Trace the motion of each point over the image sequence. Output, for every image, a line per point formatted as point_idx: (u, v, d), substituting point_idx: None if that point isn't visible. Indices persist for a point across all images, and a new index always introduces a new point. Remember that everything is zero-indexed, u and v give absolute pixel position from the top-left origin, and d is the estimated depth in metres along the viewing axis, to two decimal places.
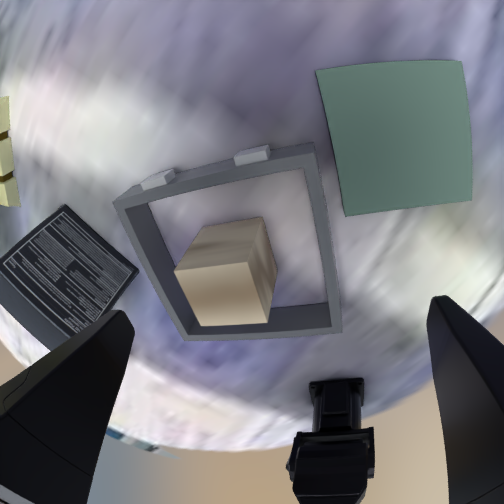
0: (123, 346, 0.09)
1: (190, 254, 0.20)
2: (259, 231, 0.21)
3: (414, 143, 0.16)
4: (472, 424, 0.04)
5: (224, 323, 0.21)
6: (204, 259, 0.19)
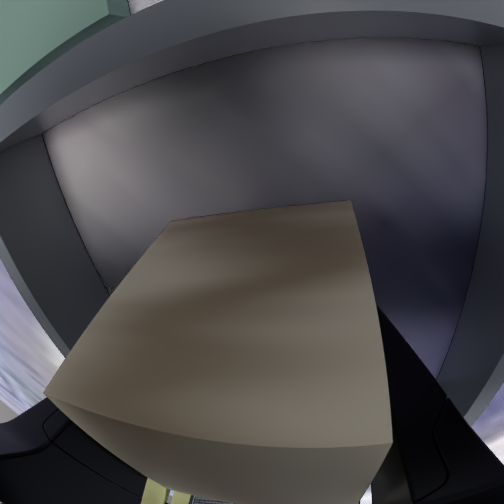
0: None
1: None
2: (150, 255, 0.07)
3: None
4: None
5: (353, 496, 0.04)
6: None
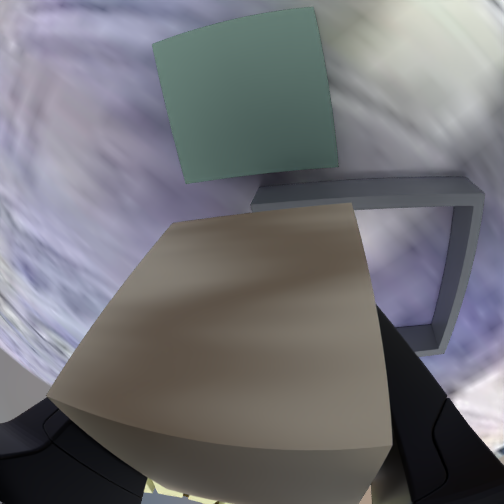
0: None
1: None
2: (151, 257, 0.07)
3: (248, 87, 0.16)
4: None
5: (353, 497, 0.04)
6: None
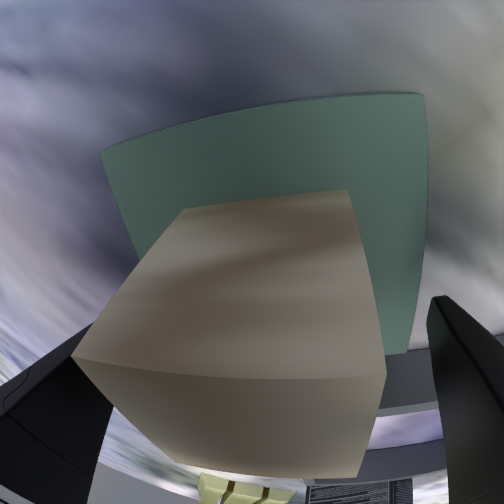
0: None
1: None
2: (167, 237, 0.08)
3: None
4: (473, 423, 0.04)
5: (355, 455, 0.05)
6: None
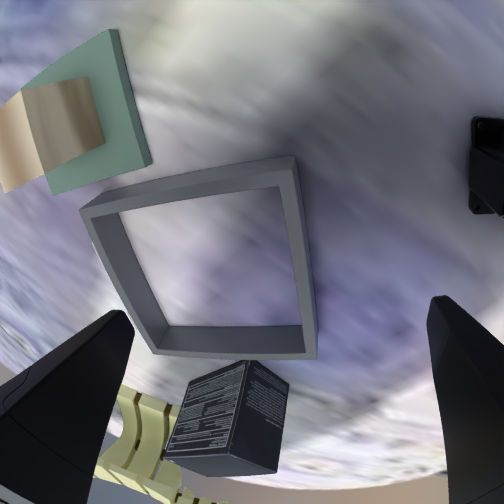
0: (123, 346, 0.09)
1: None
2: None
3: None
4: (473, 423, 0.04)
5: (32, 142, 0.12)
6: None
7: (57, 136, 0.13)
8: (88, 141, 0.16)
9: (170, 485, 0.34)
